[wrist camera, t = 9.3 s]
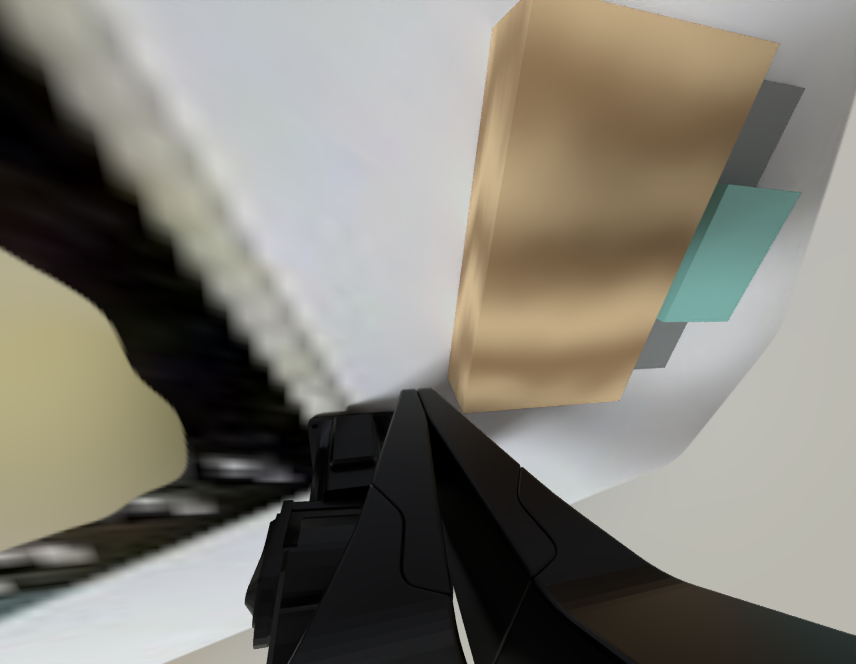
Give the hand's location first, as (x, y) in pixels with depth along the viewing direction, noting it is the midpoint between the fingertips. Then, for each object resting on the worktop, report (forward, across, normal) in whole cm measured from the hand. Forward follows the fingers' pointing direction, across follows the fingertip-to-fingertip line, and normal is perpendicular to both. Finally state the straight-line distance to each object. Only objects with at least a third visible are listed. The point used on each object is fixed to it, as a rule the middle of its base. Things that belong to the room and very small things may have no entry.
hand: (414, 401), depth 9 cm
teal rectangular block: (+10, -23, -2) cm, 25 cm away
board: (+12, -11, -2) cm, 16 cm away
